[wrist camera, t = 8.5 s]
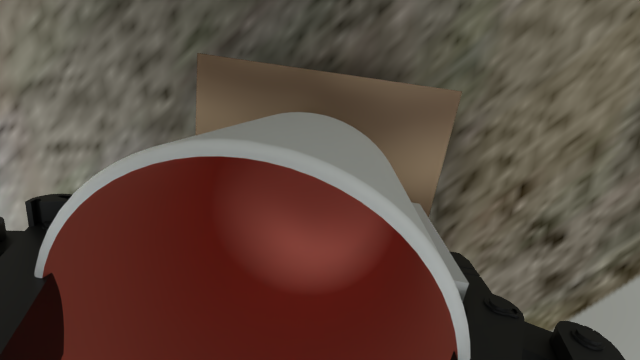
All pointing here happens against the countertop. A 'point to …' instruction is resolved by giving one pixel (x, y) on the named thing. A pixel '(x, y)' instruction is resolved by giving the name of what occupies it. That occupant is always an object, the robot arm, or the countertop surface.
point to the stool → (336, 111)
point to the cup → (252, 253)
